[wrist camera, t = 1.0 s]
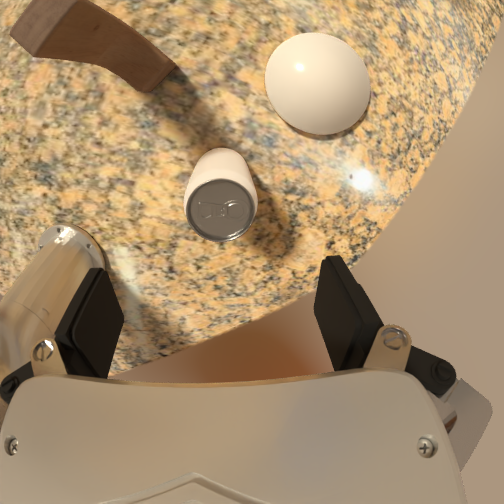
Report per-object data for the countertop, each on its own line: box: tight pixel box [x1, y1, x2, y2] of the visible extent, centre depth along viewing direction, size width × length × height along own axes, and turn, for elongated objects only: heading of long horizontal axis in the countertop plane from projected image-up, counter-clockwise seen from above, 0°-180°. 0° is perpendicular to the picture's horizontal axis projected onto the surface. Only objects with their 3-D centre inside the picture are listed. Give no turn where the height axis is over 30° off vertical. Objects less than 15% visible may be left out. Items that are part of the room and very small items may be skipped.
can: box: [184, 148, 258, 242], centre depth 27 cm, size 6×6×12 cm
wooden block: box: [10, 0, 176, 92], centre depth 15 cm, size 9×4×18 cm, turn 42°
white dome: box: [264, 33, 371, 135], centre depth 26 cm, size 13×13×1 cm
